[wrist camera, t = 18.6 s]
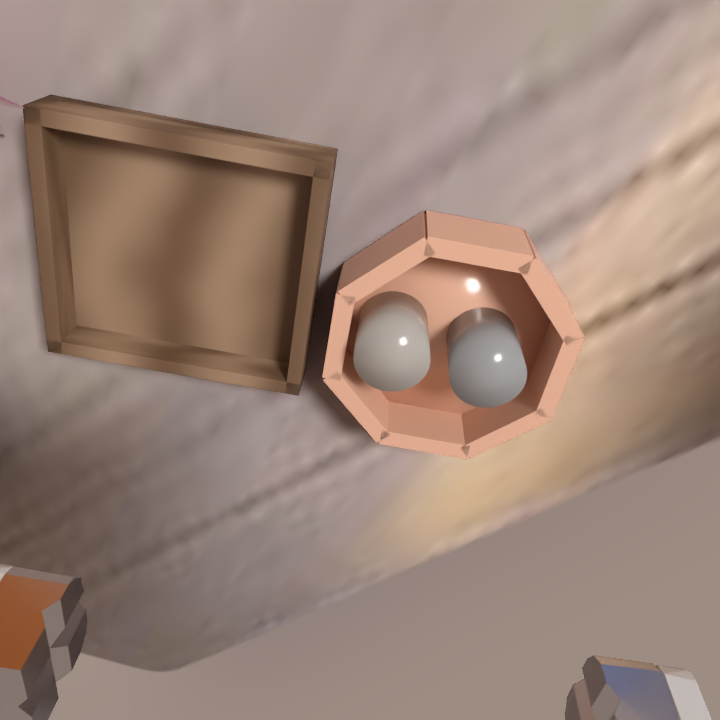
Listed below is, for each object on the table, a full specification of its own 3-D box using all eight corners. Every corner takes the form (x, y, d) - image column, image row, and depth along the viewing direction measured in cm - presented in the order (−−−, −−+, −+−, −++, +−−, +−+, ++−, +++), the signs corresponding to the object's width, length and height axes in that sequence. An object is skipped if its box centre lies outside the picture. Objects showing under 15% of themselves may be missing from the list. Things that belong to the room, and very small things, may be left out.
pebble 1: (435, 299, 36) (439, 335, 33) (417, 358, 38) (419, 398, 35) (365, 284, 36) (362, 318, 33) (351, 344, 38) (346, 383, 35)
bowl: (593, 241, 35) (612, 270, 31) (521, 430, 42) (531, 470, 38) (353, 196, 34) (347, 221, 31) (320, 395, 41) (313, 432, 38)
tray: (337, 148, 33) (332, 163, 31) (305, 369, 40) (298, 395, 38) (50, 94, 33) (22, 105, 30) (69, 327, 40) (48, 351, 37)
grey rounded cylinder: (525, 313, 36) (536, 350, 33) (506, 372, 38) (515, 412, 35) (454, 302, 36) (458, 338, 33) (439, 362, 38) (442, 401, 35)
